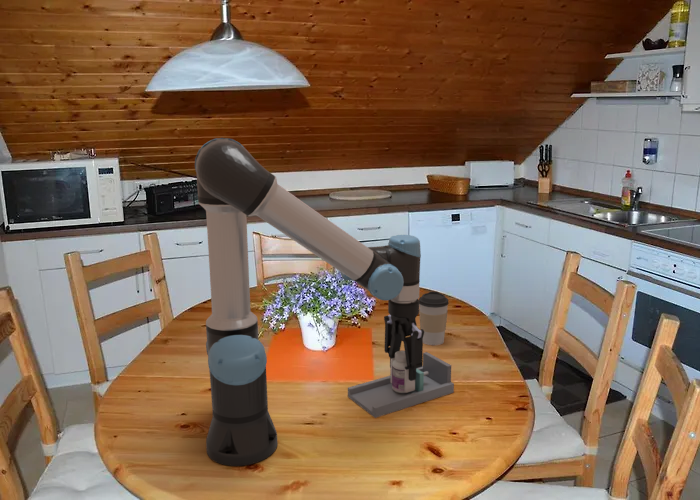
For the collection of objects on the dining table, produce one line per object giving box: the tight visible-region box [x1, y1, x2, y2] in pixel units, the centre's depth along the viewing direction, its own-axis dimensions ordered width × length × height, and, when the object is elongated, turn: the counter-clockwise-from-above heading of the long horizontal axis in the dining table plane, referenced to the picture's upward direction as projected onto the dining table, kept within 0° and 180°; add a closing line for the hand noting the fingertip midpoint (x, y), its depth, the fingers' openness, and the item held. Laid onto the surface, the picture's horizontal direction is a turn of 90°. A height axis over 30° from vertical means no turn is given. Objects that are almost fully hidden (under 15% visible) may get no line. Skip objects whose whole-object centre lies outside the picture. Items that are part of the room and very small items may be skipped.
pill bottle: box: [392, 350, 407, 393], centre depth 154 cm, size 5×5×10 cm
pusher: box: [415, 368, 429, 392], centre depth 157 cm, size 5×7×5 cm
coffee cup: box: [418, 290, 449, 346], centre depth 187 cm, size 9×9×15 cm
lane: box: [347, 351, 455, 419], centre depth 154 cm, size 24×12×7 cm, turn 121°
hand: (402, 386), depth 155 cm, fingers closed on pill bottle, 5 cm apart
